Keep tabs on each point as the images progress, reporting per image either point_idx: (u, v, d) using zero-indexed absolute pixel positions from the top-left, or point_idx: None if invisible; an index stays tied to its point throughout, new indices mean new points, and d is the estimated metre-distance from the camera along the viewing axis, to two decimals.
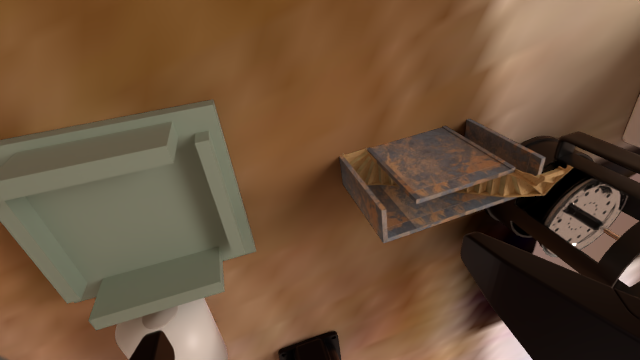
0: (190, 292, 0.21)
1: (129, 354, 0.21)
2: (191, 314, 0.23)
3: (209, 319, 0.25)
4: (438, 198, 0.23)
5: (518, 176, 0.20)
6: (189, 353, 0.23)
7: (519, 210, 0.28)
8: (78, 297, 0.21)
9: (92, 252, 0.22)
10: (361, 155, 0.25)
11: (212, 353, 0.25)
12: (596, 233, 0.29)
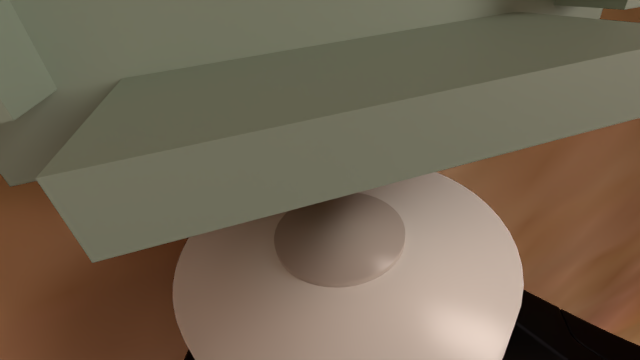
0: (601, 68, 0.04)
1: None
2: (470, 232, 0.06)
3: None
4: None
5: None
6: None
7: None
8: (0, 103, 0.04)
9: None
10: None
11: None
12: None
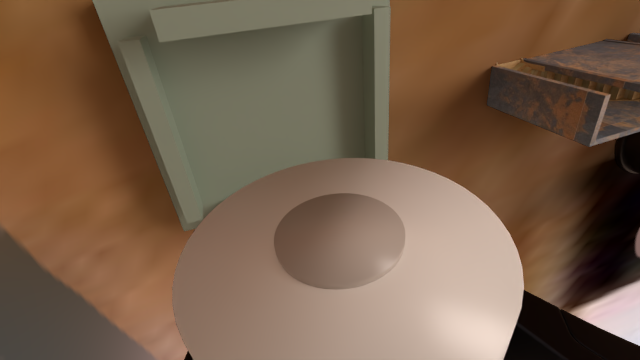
0: None
1: None
2: (470, 234, 0.06)
3: None
4: (631, 106, 0.19)
5: None
6: None
7: None
8: (200, 216, 0.17)
9: (216, 163, 0.18)
10: (514, 67, 0.22)
11: None
12: None
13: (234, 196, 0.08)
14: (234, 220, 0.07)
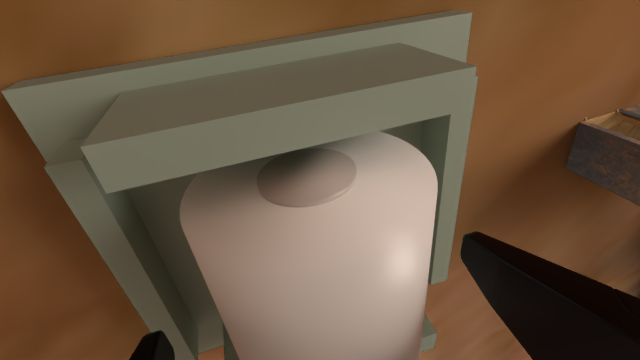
0: None
1: (248, 274, 0.06)
2: (406, 173, 0.08)
3: None
4: None
5: None
6: (416, 286, 0.07)
7: None
8: None
9: None
10: (606, 121, 0.16)
11: None
12: None
13: None
14: (227, 168, 0.09)
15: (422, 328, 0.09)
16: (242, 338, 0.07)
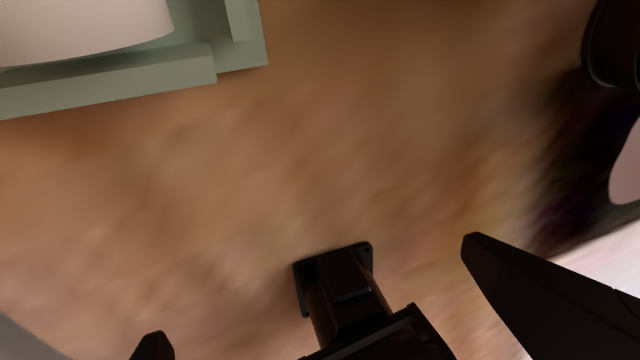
0: (155, 68, 0.12)
1: None
2: None
3: None
4: None
5: None
6: None
7: None
8: None
9: None
10: None
11: None
12: None
13: None
14: None
15: None
16: None
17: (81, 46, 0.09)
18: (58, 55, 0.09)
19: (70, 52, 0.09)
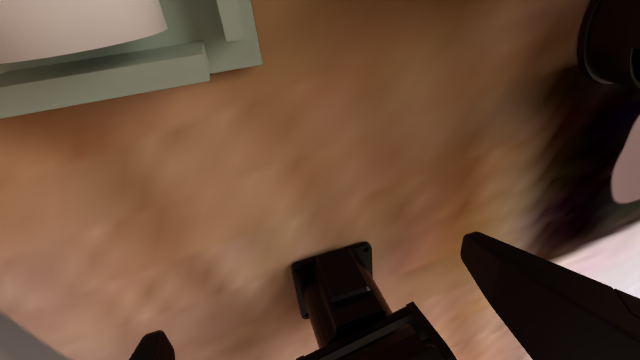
0: (148, 66, 0.12)
1: None
2: None
3: None
4: None
5: None
6: None
7: None
8: None
9: None
10: None
11: None
12: None
13: None
14: None
15: None
16: None
17: (74, 43, 0.09)
18: (51, 52, 0.09)
19: (63, 49, 0.09)
